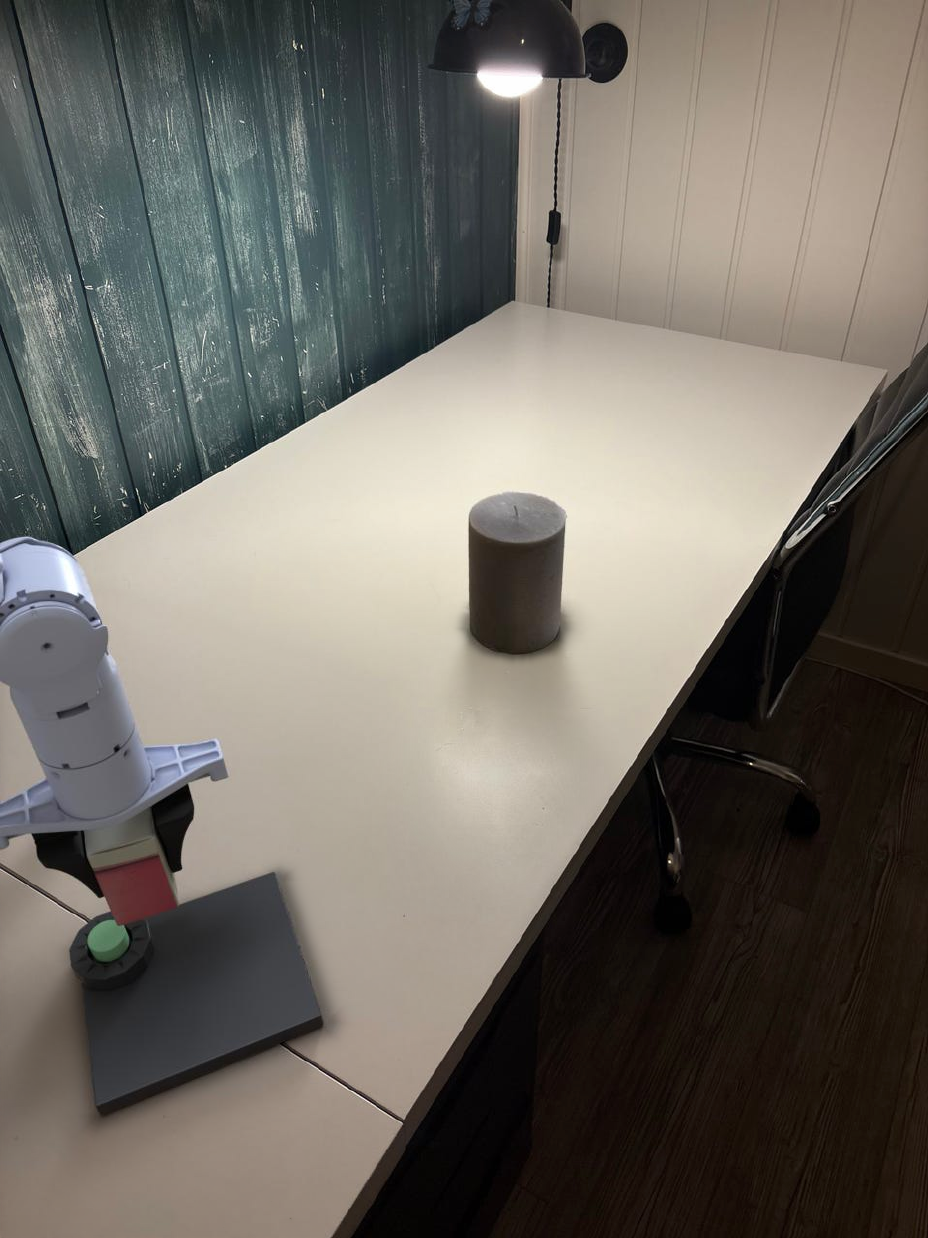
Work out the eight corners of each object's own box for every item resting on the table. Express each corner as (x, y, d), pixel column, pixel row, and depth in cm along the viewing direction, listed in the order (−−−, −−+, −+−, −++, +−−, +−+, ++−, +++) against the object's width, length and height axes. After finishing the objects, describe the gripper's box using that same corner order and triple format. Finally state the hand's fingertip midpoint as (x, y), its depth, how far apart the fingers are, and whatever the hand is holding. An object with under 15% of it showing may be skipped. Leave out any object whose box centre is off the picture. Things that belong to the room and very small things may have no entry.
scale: (96, 1118, 59) (84, 1097, 57) (78, 948, 69) (66, 926, 67) (323, 1026, 64) (319, 1003, 62) (276, 879, 73) (271, 855, 72)
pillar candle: (484, 661, 94) (483, 539, 84) (459, 605, 101) (456, 487, 92) (573, 644, 96) (583, 522, 86) (542, 590, 103) (548, 472, 93)
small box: (110, 871, 65) (80, 798, 60) (172, 853, 67) (147, 780, 62) (116, 930, 62) (84, 857, 57) (181, 909, 63) (155, 836, 58)
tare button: (94, 968, 65) (89, 957, 64) (90, 937, 67) (85, 927, 66) (132, 954, 66) (127, 944, 65) (127, 925, 67) (122, 914, 67)
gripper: (194, 659, 59) (231, 797, 68) (-48, 726, 55) (23, 864, 64) (217, 730, 54) (254, 870, 63) (-48, 810, 50) (30, 949, 58)
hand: (139, 872), depth 63 cm, fingers closed on small box, 4 cm apart
